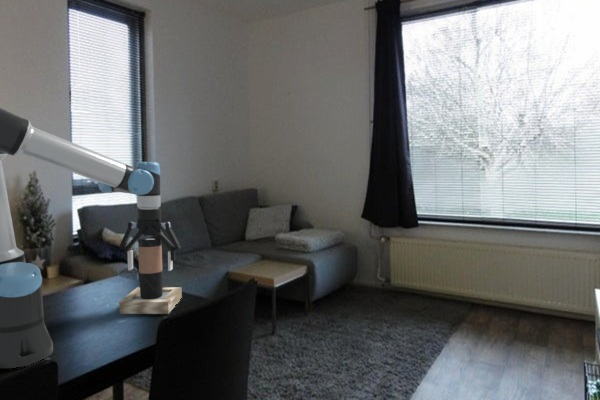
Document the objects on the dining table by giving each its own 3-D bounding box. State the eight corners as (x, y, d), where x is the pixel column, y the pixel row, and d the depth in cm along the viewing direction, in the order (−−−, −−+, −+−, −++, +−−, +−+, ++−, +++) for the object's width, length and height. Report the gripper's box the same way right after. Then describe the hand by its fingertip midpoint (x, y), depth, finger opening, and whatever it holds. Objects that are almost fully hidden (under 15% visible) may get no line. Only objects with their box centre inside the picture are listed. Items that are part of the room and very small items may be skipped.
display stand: (119, 313, 144) (119, 301, 144) (137, 297, 160) (137, 287, 160) (168, 313, 144) (168, 302, 144) (181, 298, 160) (181, 287, 160)
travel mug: (156, 299, 147) (154, 240, 146) (135, 298, 149) (133, 239, 148) (167, 293, 155) (165, 236, 153) (147, 292, 156) (145, 236, 155)
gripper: (189, 207, 152) (189, 267, 154) (116, 206, 152) (118, 266, 154) (183, 209, 145) (184, 272, 147) (107, 208, 145) (109, 272, 147)
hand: (150, 269), depth 151 cm, fingers open, 13 cm apart
